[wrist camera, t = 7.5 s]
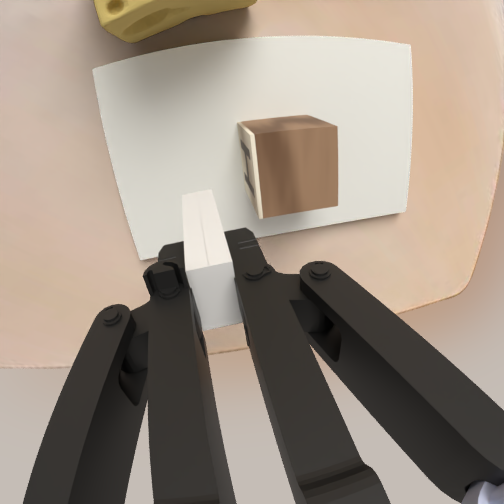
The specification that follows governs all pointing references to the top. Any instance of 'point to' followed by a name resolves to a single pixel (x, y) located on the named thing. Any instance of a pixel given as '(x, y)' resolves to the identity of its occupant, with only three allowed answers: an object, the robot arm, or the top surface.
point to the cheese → (155, 14)
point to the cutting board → (253, 108)
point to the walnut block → (289, 164)
